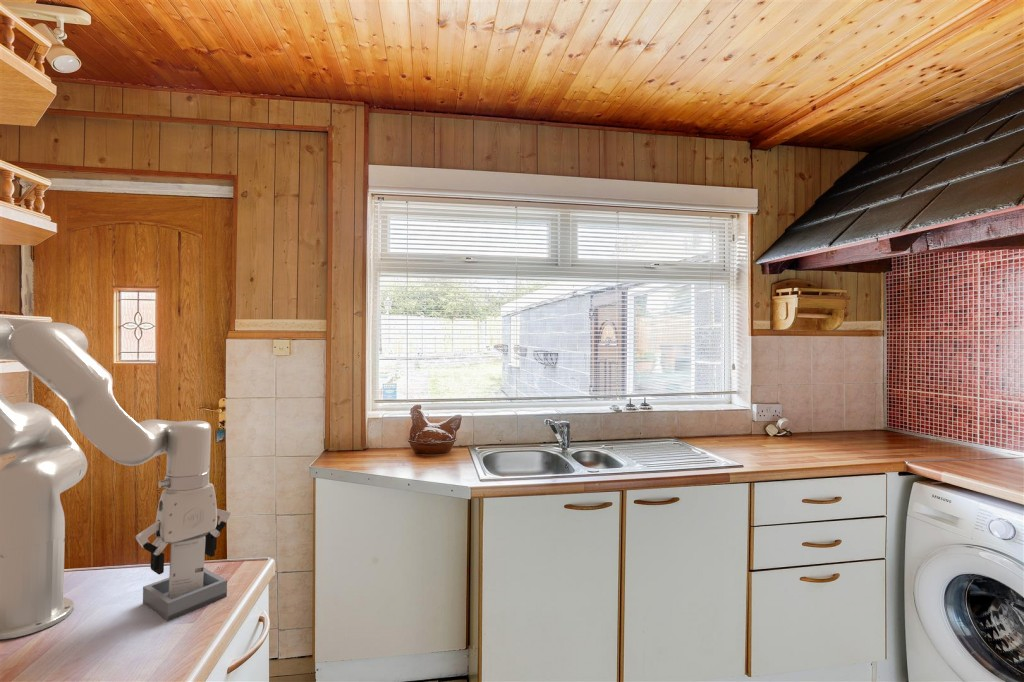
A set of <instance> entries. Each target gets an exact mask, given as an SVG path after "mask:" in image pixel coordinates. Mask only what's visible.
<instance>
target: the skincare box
mask: <svg viewBox="0 0 1024 682" xmlns="http://www.w3.org/2000/svg"><path fill="white" fill-rule="evenodd" d="M205 535H206V534H203V535H199V536H196V537H193V538H189V539H186V540H182V541H179V542H175V543H170V544H171V545H170V559H169V574H168V575H169V576H168V578H169V595H168V597H169V598H170V599H174V598H177V597H179V596H182V595H185V594H187V593H190V592H192V591H195V590H197V589H200V588H202V587H203V575H204V568H205V557H206V556H205V555H206V554H205Z"/></svg>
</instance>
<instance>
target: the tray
mask: <svg viewBox="0 0 1024 682" xmlns="http://www.w3.org/2000/svg"><path fill="white" fill-rule="evenodd" d="M227 594H228V579H226V578H224V577H222V576H221V575H218V574H217V573H215V572H213V571H211V570H209V569H207V568H205V567H204V575H203V587H202V588H200V589H197V590H195V591H192V592H190V593H187V594H185V595H182V596H179V597H177V598H174V599H170V598H169V597H168V595H169V577H166V578H163V579H161V580H159V581H155V582H153V583H150V584H147V585H144V586H143V587H142V604H143V606H145V607H147V608H148V609H149V610H151V611H152V612H154V613H155V614H156V615H158V616H159V617H161V618H162V619H164V620H165V621H166V622H170V621H172V620H174V619H177V618H180V617H182V616H185V615H187V614H189V613H191V612H194V611H196V610H198V609H200V608H203V607H206V606H208V605H211V604H213V603H214V602H218V601H221V600H222V599H225V598H227V597H228V595H227ZM224 597H225V598H224ZM217 600H218V601H217Z"/></svg>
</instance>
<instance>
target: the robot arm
mask: <svg viewBox="0 0 1024 682" xmlns="http://www.w3.org/2000/svg"><path fill="white" fill-rule="evenodd" d="M88 348H89V340H88V338H87V336H86V334H85V333H84V332H83V331H82V330H81V329H80V328H78V327H77V326H75V325H73V324H69V323H64V322H57V321H55V322H51V321H39V320H32V319H31V320H29V319H20V318H12V317H11V318H10V317H3V316H0V360H6V361H7V360H8V361H18V363H20V364H21V365H22V366H23V367H24V368H26V369H27V371H29V372H30V373H32V375H33V376H35V378H37V379H38V380H39V381H41V382H42V383H43V384H44V385H45V386H47V388H48V389H50V390H51V391H52V392H53V393H54V394H55V395H56V396H57V398H59V399H60V400H61V401H63V402H64V403H65V405H66V406H67V408H68V411H69V413H70V416H71V417H72V419H73V421H74V423H75V424H76V427H77V428H78V430H79V431H80V432H81V434H82V435H83V437H85V438H86V439H87V440H88V441H89V442H90V443H91V444H92V445H94V447H96V448H97V449H98V450H99V451H100V452H101V453H103V454H104V455H105V456H107V457H108V458H109V459H111V460H112V461H114V462H115V463H118V464H119V465H123V466H129V467H130V466H131V467H132V466H133V467H134V466H140V465H142V464H144V463H146V462H148V461H150V460H152V459H153V458H155V457H158V456H160V455H163V454H166V473H165V475H164V479H162V480H158V482H157V486H158V488H159V489H160V488H161V489H162V488H164V489H163V490H162V491H161V493H160V497H159V501H158V506H157V510H156V518H155V522H154V523H152V524H150V525H149V526H148V527H147V528H145V529H144V530H142V531H141V532H139V533H138V534H136V536H135V539H136V541H137V542H138V544H139V546H140V547H141V548H142V549H144V550H146V551H148V552H149V553H150V570H151V571H153V572H154V573H156V574H157V575H162V574H163V573H164V571H165V569H164V568H165V554H164V553H163V551H164V549H165V548H166V547H167V546H168V544H171V543H175V542H179V541H182V540H186V539H189V538H193V537H196V536H199V535H203V534H205V555H206V556H208V557H210V558H213V557H215V556H216V550H217V543H218V537H219V536H220V534H221V532H222V530H223V529H224V528H225V527H226V524H227V522H228V520H229V517H230V516H231V512H230V511H227V510H223V509H219V508H218V507H217V498H216V497H217V496H216V491H215V486H214V484H213V483H211V482H210V470H211V444H212V425H211V424H210V423H209V422H207V421H205V420H183V421H182V420H181V421H173V420H166V419H165V420H164V419H155V418H154V419H146V420H143V421H139V422H138V421H136V420H134V418H132V417H131V416H130V415H129V414H128V413H127V412H126V411H125V410H124V409H123V408H122V407H121V406H120V404H119V403H118V402H117V400H116V398H115V396H114V391H113V387H114V378H113V376H112V374H111V373H110V372H109V371H108V370H107V369H106V368H104V366H103V365H102V364H100V362H98V361H97V360H96V359H95V358H94V357H93V356H92V355H90V353H88ZM9 455H13V456H14V457H15V459H14V460H12V461H10V462H8V463H6V464H5V465H3V466H2V467H1V468H0V640H9V639H15V638H19V637H23V636H27V635H30V634H34V633H37V632H40V631H42V630H45V629H47V628H49V627H52V626H54V625H56V624H58V623H59V622H61V621H63V620H64V619H65V618H67V617H68V616H69V615H70V614H71V613H72V612H73V610H74V605H75V603H74V601H73V600H72V599H71V598H68V597H64V585H65V582H64V581H65V543H66V542H65V541H66V536H65V535H66V531H65V530H66V522H65V521H66V520H65V519H66V517H65V512H64V508H63V505H62V501H61V494H62V493H64V492H65V491H67V490H69V489H70V488H72V487H74V486H75V485H77V484H78V483H79V482H80V481H82V479H83V478H84V477H85V475H86V473H87V471H88V460H87V456H86V455H85V453H84V451H83V450H82V448H81V447H80V446H79V444H78V443H77V442H76V441H75V439H74V438H73V437H72V435H71V434H70V432H68V430H67V429H66V427H64V425H63V424H62V423H61V421H60V420H59V419H58V417H57V416H56V415H54V413H52V411H50V410H49V409H48V408H46V407H44V406H42V405H41V404H37V403H34V402H27V401H19V402H12V403H11V402H10V401H9V400H8V399H6V398H5V396H4V394H3V393H1V392H0V458H1V457H2V458H3V457H6V456H9ZM218 517H219V518H218ZM154 534H155V539H154V541H153V542H152V543H151V542H150V540H149V537H151V536H152V535H154Z"/></svg>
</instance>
